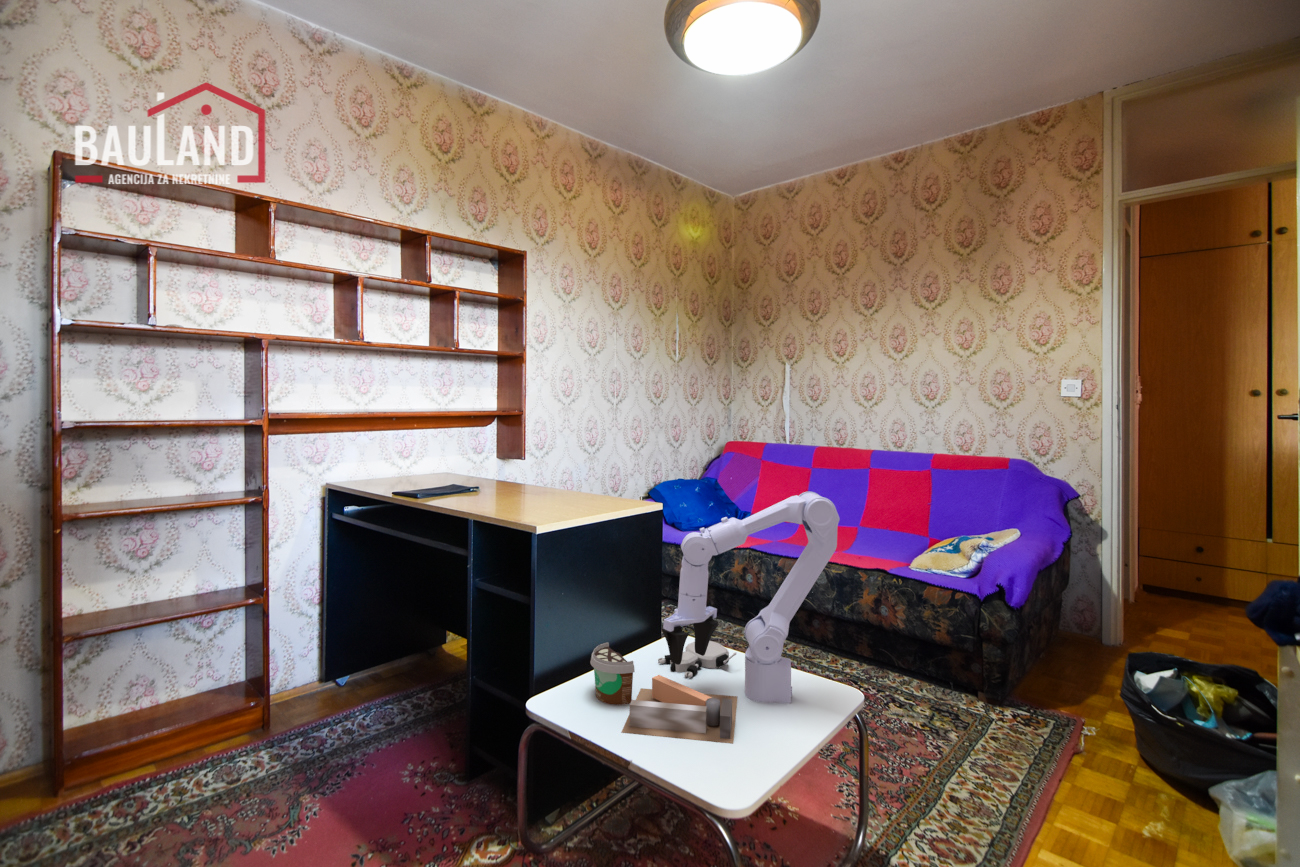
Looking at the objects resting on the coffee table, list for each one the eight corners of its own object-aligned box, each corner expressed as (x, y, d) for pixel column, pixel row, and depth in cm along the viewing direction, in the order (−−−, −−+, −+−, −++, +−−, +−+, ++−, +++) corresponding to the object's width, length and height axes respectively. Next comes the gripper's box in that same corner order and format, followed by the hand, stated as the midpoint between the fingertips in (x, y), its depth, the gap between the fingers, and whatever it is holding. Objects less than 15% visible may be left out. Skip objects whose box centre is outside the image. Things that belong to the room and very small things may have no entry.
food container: (581, 694, 128) (580, 646, 128) (607, 687, 131) (607, 641, 131) (606, 719, 117) (606, 668, 117) (634, 712, 120) (634, 661, 120)
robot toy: (689, 690, 132) (739, 668, 141) (688, 670, 131) (738, 649, 140) (655, 671, 142) (703, 651, 150) (653, 652, 141) (702, 633, 150)
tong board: (737, 702, 124) (737, 677, 124) (733, 750, 107) (733, 720, 107) (640, 693, 128) (640, 669, 128) (621, 739, 110) (621, 710, 110)
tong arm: (722, 722, 113) (723, 701, 113) (713, 727, 111) (714, 706, 111) (660, 693, 125) (660, 674, 125) (651, 697, 123) (651, 678, 123)
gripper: (700, 582, 133) (695, 644, 133) (654, 593, 122) (649, 660, 123) (726, 590, 128) (721, 654, 128) (680, 602, 117) (675, 672, 118)
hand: (688, 658), depth 125 cm, fingers open, 7 cm apart
